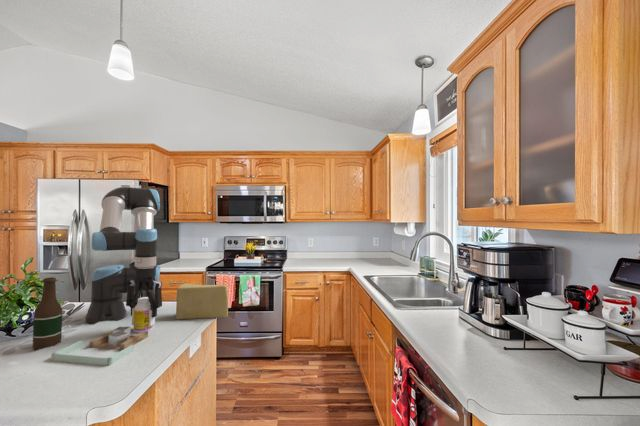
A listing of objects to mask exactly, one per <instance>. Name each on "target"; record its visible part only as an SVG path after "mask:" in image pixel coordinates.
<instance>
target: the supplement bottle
mask: <svg viewBox="0 0 640 426" xmlns="http://www.w3.org/2000/svg"><path fill="white" fill-rule="evenodd" d="M150 309H151V306H150V302H149V299H148V296H142V297H140V298H139V299H138V304H137V305H136V306H135V308H134V325H133V332H134V333H137V334H140V333H142V332H144V331H148V332H149V331H152V330H153V325H152V326H149V310H150Z"/></svg>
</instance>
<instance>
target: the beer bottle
mask: <svg viewBox="0 0 640 426" xmlns="http://www.w3.org/2000/svg"><path fill="white" fill-rule="evenodd" d="M42 282H43V287H42V294H41V295H42V296H41V300H40V302H39V303H38V304H37V306H36V307H35V309H34V313H33V325H32V327H33V331H32V348H33V351H34V352H36V351H37V352H38V351H39V350H43V349H46V348H50V347H54V346H57V345H58V344H60V343H62V334H63V331H62V329H63V308H62V306H61V304H60V302H58V300H57V288H56V282H57V278H56V277H51V276H50V277H45V278H43V280H42Z"/></svg>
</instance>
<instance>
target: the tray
mask: <svg viewBox="0 0 640 426" xmlns="http://www.w3.org/2000/svg"><path fill="white" fill-rule="evenodd" d="M81 348H83V340H79V341H76V342H75V343H72V344H70V345H68V346H66V347H63V348H61V349H59V350H57V351H54V352H52V353H51V361H58V362H67V363H68V362H69V363H77V364H78V363H80V364H90V365H99V366H100V365H101V366H111V365H113V364H114V363H116V362H118V361H119V360H121V359H123V358H124V357H126V356H128V355H130V354H131V353H133V352H134V345H131V346H129V347H127V348H125V349H124V350H119V351H118V352H117V353H115V354H113V355H111V356H109V357H108V356H99V355H85V354H75V353H72V352H75V351H76V350H79V349H81Z"/></svg>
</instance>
